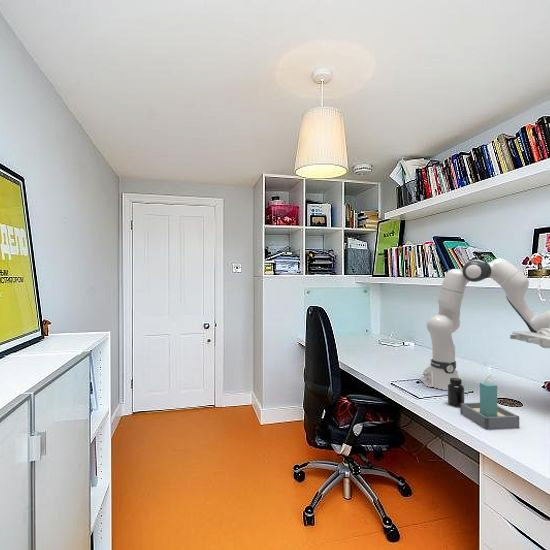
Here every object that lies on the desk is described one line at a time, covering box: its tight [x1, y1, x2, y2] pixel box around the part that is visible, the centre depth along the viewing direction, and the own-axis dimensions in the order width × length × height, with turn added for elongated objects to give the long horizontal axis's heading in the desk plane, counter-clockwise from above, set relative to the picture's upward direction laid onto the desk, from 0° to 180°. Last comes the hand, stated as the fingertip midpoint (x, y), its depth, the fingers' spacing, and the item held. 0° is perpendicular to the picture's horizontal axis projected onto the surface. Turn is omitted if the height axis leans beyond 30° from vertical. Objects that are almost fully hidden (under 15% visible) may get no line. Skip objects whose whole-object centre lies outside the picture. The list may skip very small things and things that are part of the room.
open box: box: [459, 401, 520, 431], centre depth 147 cm, size 16×14×4 cm
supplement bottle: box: [447, 377, 465, 408], centre depth 164 cm, size 7×7×12 cm
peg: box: [479, 382, 498, 417], centre depth 147 cm, size 4×4×15 cm
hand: (519, 338), depth 157 cm, fingers open, 8 cm apart
